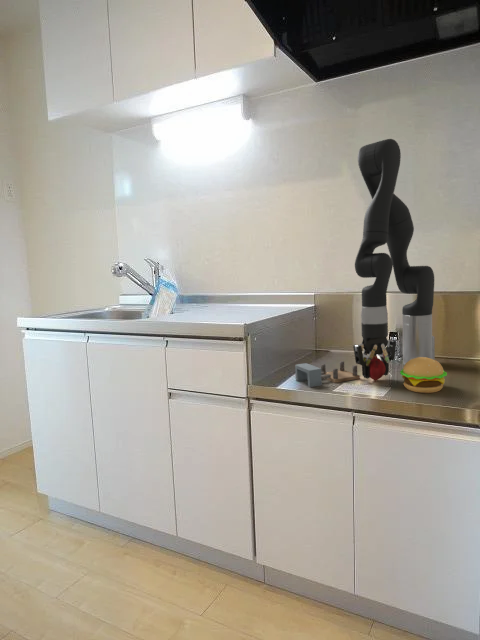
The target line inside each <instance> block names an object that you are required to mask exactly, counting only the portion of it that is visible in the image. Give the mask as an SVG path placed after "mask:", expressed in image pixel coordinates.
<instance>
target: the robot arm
mask: <svg viewBox="0 0 480 640" xmlns="http://www.w3.org/2000/svg"><path fill="white" fill-rule="evenodd" d="M401 156H402V155H401V149H400V145H399V143H398V142H397V141H396V140H395V139H392V138H387V139H383V140H379V141H375V142H373V143H368V144H366V145H363V146H361V147H360V148H359V150H358V153H357V163H358V167H359V171H360V173H361V176H362V178H363V181H364V184H365V186H366V187H367V189H368V192H369V194H370V197H371V199H372V200H371V201H370V203H369V205H368V207H367V209H366V211H365V215H364V219H363V228H362V229H363V231H362V239H361V242H360V245H359V249H358V251H357V255H356V257H355V260H354V270H355V273H356V274H357V276H358V277H360V278H364V279H367V278H370V279H371V278H375V279H374V282H373V284H371V285H367V286H364V287H362V289H361V314H360V318H361V323H360V324H361V336H362V337H361V338H362V341H361V343H359V344H356V343H354V344H353V347H352V348H353V354H354V359H355V360H354V361H355V364H356V365H360V366H361V375H362V377H363V378H365V379H368V380H369V379H371V378H370V366H369V363H370V361H371V359H372V358H373V356H375V355H377V357H378V356H379V357H378V358H379V359H380V360H381V361H382V362H383V363H384V365H385V368H386V370H385V373H384V375H383V376H388V375H389V372H390V371H389V369H390V365H389V363H390V362H391V361H394V360H395V357H396V347H397V341H396V340H392V339H388V338H387V337H388V335H389V320H388V319H389V317H388V314H389V313H388V307H387V305H388V304H387V300H388V299H387V292H388V286H389V284H390V283H389V282H390V278H391V275H392V270H393V273H394V278H395V283H396V285H397V287H398V291H400V292H401V293H402V294H409V295H410V294H411V295H412V294H413V295H416V299H415V300H414V301H413V302H410V303H407V304H405V305H403V306H402V309H401V311H402V365H403V366H405V364H406V363H407V362H408V361H409V360H411V359H414V358H418V357H427V358H430V359H433V360H436V359H435V352H436V351H435V349H436V348H435V336H434V335H433V306H434V300H435V299H434V298H435V297H434V294H435V293H434V292H435V272H434V270H433V269H432V267H431V266H429V265H410V264H409V261H408V256H407V253H408V249H409V247H410V243H411V241H412V239H413V235H414V231H415V230H414V229H415V228H414V227H415V226H414V222H413V220H412V219H413V218H412V216H411V212H410V209H409V208H408V206H407V205H406V203H405V202H404V201H403V200H402V199H400V198H399V197H398V196H397V195H396V194H395V188H396V184H397V180H398V176H399V170H400V166H401V158H402V157H401ZM384 245H386V246H387V249H388V252H389V254H388V253H387V252H376V253H375V252H374V251H375V250H376V249H377V248H378V247H380V246H384Z"/></svg>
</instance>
